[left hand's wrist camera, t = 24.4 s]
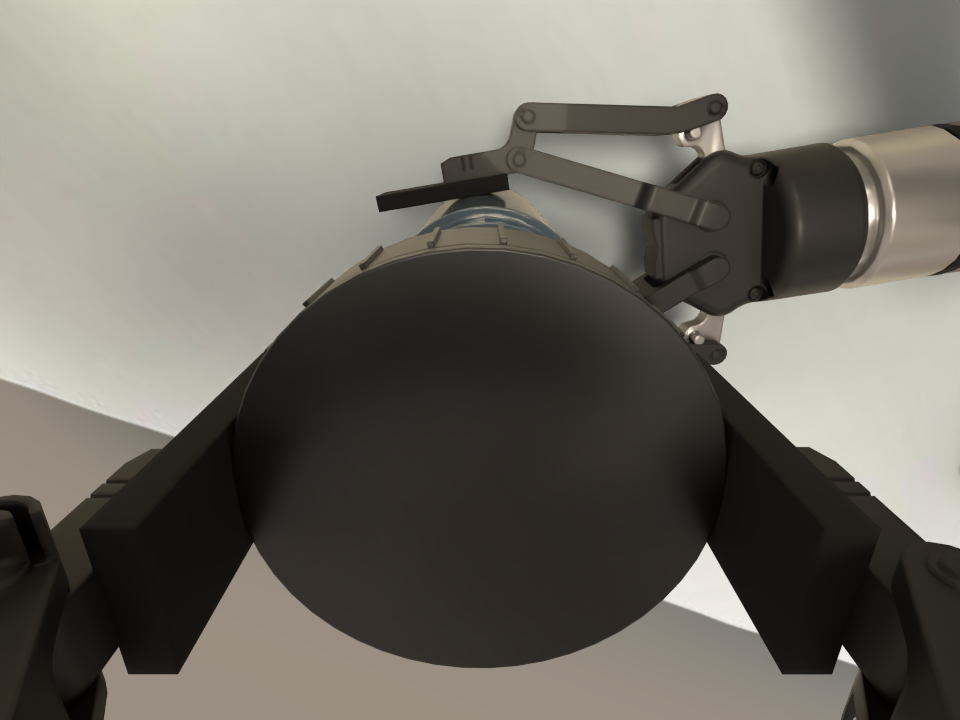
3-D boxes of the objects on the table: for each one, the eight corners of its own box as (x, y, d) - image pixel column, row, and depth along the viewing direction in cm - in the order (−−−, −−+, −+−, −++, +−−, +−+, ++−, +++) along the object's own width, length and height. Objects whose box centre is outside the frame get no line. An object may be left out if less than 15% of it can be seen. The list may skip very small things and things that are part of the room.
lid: (613, 614, 14) (637, 698, 12) (261, 555, 14) (219, 633, 11) (751, 279, 11) (819, 312, 9) (293, 176, 10) (243, 184, 8)
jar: (539, 319, 37) (575, 431, 22) (418, 306, 36) (373, 409, 22) (559, 193, 34) (616, 226, 19) (428, 177, 33) (383, 198, 19)
